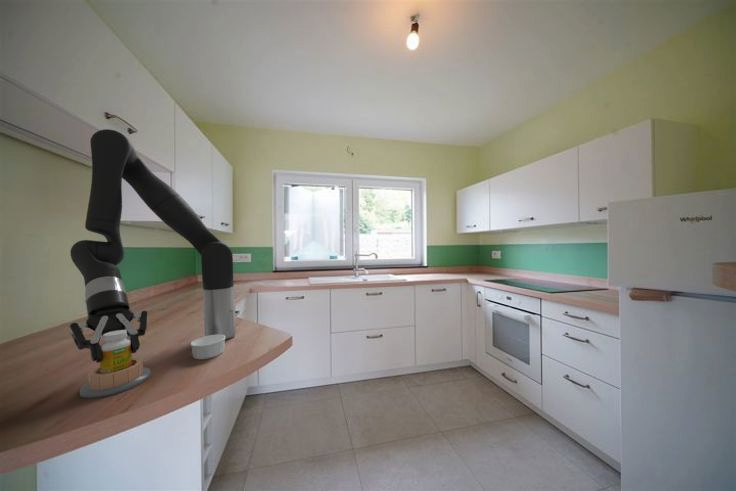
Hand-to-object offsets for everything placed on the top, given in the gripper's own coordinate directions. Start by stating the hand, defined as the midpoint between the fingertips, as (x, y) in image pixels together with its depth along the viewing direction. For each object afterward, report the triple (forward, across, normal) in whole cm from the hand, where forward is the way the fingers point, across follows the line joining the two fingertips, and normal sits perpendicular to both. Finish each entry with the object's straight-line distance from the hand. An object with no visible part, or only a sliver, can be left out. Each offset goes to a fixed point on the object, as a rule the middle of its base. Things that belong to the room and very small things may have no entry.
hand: (117, 355), depth 60 cm
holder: (+4, 0, +6) cm, 7 cm away
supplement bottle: (+2, 0, +5) cm, 5 cm away
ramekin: (+4, +20, +6) cm, 21 cm away
